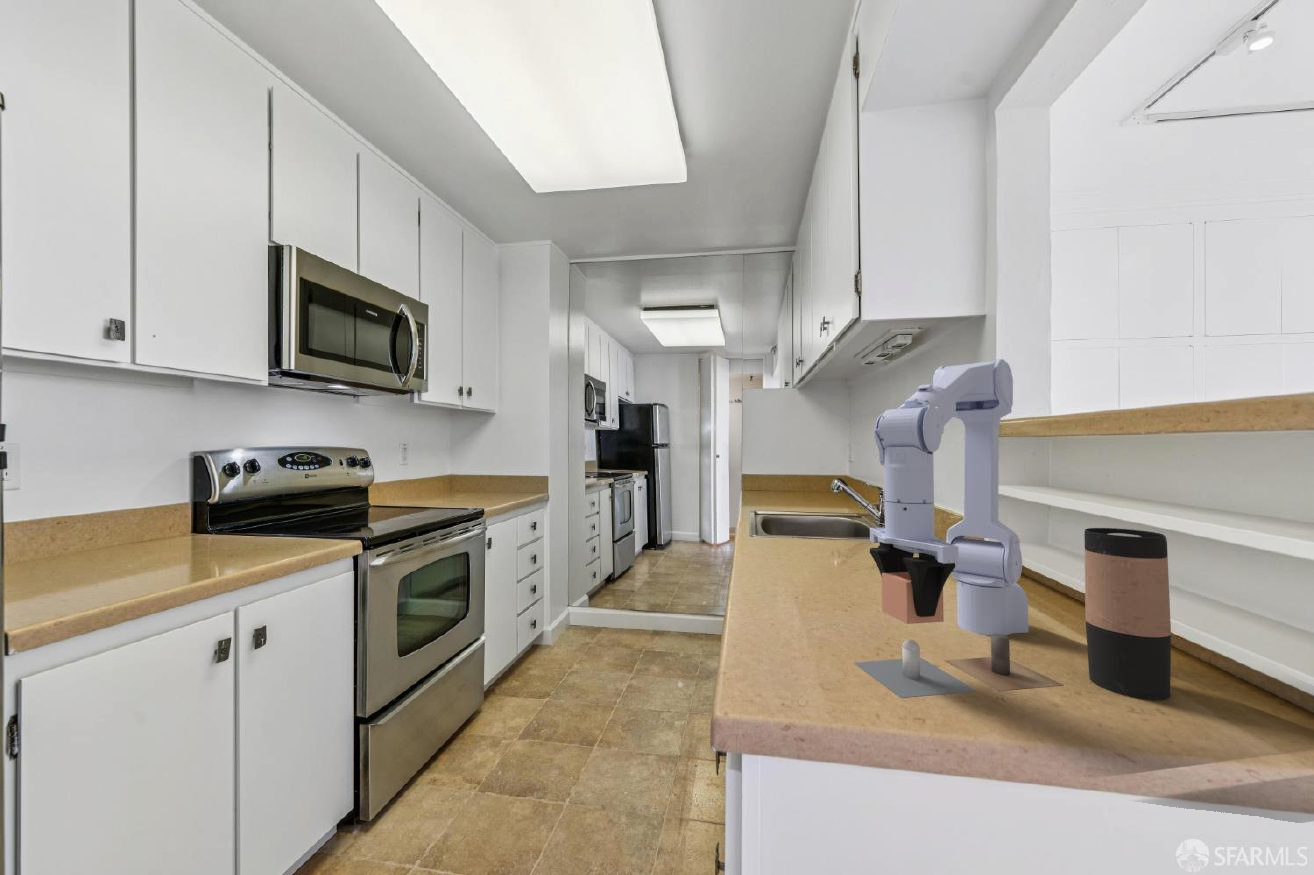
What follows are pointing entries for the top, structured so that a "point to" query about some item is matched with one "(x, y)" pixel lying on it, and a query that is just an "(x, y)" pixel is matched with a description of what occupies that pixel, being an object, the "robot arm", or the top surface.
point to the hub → (913, 675)
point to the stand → (1002, 669)
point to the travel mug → (1128, 612)
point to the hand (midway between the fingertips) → (910, 608)
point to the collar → (904, 599)
